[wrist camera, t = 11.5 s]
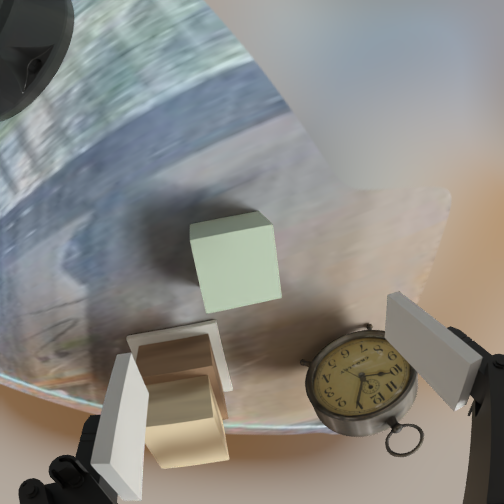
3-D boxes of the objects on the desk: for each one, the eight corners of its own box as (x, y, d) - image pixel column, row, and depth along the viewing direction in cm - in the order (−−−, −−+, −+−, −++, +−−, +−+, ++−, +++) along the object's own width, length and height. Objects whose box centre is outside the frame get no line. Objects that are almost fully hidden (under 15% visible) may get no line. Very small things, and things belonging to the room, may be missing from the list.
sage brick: (189, 223, 27) (189, 240, 22) (258, 210, 28) (272, 224, 23) (203, 287, 29) (206, 313, 24) (267, 274, 30) (281, 297, 25)
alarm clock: (375, 309, 34) (468, 400, 18) (382, 342, 36) (462, 431, 20) (287, 354, 33) (346, 475, 18) (302, 385, 35) (356, 496, 20)
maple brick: (140, 385, 25) (135, 428, 20) (208, 374, 25) (213, 417, 21) (162, 428, 27) (161, 468, 22) (222, 419, 28) (229, 459, 23)
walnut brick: (138, 345, 29) (132, 378, 24) (208, 333, 30) (212, 365, 25) (159, 396, 31) (158, 429, 27) (222, 385, 32) (228, 418, 28)
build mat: (127, 335, 29) (126, 339, 29) (216, 319, 30) (216, 322, 30) (154, 399, 32) (154, 403, 32) (232, 386, 33) (233, 390, 33)
